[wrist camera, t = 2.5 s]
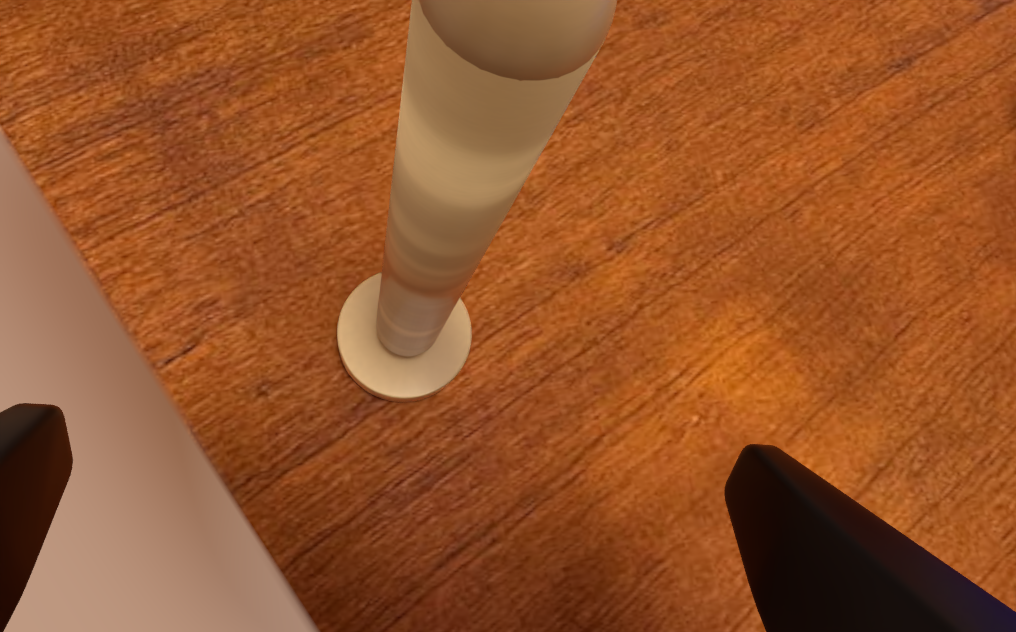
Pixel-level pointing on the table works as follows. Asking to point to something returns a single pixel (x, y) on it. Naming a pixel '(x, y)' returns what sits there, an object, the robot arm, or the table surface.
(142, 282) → the table surface
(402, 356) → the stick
